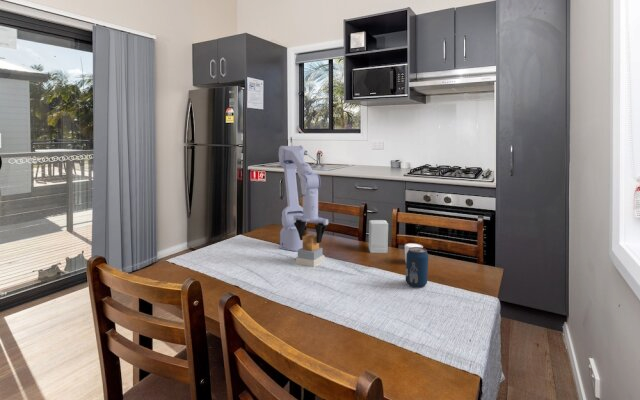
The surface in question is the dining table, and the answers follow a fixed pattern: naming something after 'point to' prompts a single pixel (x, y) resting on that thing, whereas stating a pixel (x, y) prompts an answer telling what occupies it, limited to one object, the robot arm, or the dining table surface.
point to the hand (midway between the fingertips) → (310, 241)
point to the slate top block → (309, 253)
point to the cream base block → (310, 261)
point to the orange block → (310, 242)
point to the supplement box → (378, 236)
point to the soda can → (417, 267)
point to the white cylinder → (410, 247)
